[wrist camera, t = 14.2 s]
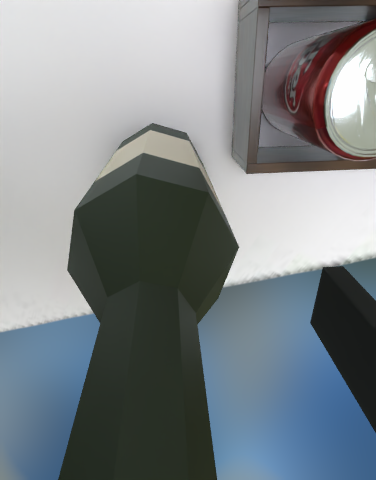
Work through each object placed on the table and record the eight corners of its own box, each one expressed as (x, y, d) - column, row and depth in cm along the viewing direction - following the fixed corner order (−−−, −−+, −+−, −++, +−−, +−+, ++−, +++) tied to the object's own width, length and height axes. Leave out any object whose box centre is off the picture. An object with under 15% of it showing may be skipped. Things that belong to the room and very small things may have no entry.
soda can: (347, 106, 28) (461, 123, 17) (274, 146, 29) (337, 185, 18) (326, 21, 24) (448, -24, 14) (244, 70, 26) (300, 64, 15)
